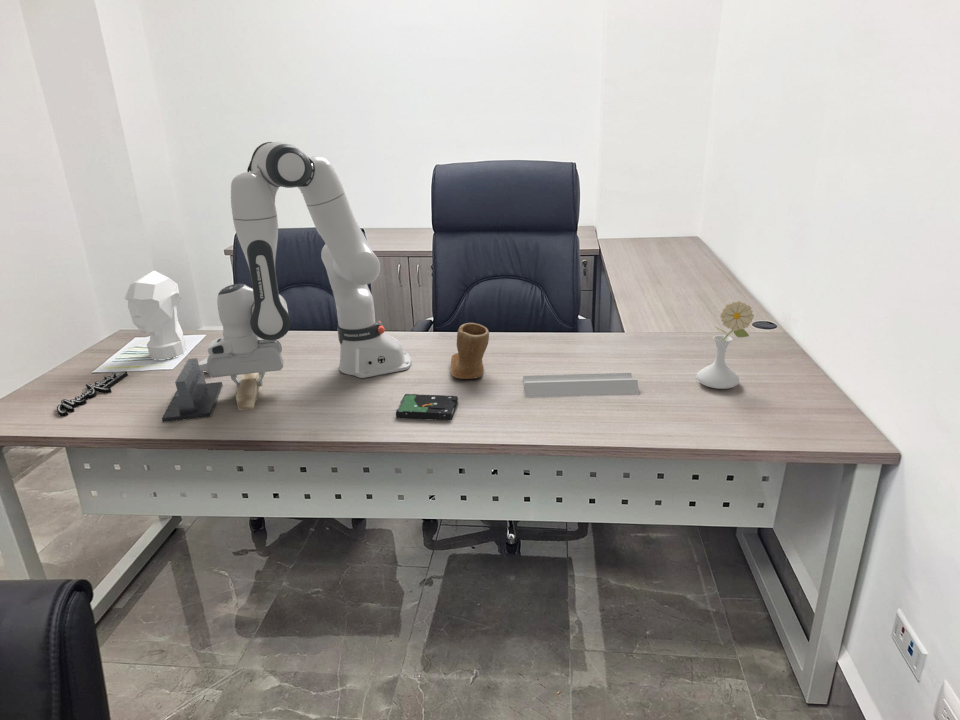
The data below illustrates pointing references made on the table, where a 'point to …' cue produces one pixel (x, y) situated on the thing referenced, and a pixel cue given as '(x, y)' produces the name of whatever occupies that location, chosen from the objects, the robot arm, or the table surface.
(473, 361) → the brown boot
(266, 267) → the robot arm
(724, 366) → the flower in vase
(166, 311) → the head bust
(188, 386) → the dark gray stand
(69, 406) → the nameplate
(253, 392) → the beech rod
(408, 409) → the disk drive
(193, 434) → the table surface
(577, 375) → the crown molding
